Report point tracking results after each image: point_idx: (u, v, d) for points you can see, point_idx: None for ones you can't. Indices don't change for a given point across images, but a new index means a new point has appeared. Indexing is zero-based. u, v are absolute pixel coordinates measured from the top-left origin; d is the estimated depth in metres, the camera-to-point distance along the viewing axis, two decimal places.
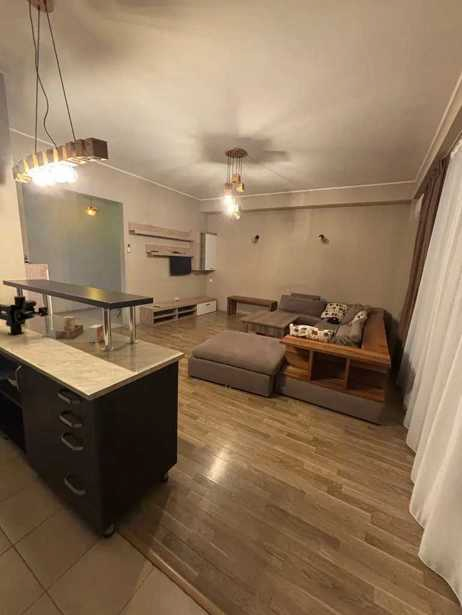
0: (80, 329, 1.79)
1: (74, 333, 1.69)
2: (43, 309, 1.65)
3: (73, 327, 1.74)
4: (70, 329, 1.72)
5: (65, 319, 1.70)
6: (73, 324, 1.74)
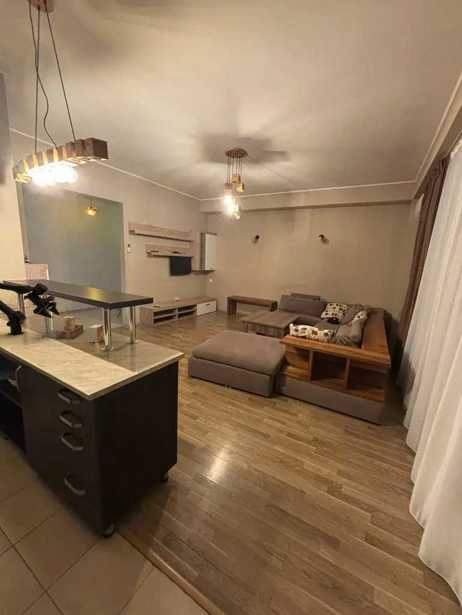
0: (80, 329, 1.79)
1: (74, 333, 1.69)
2: (55, 306, 1.75)
3: (73, 327, 1.74)
4: (70, 329, 1.72)
5: (65, 319, 1.70)
6: (73, 324, 1.74)
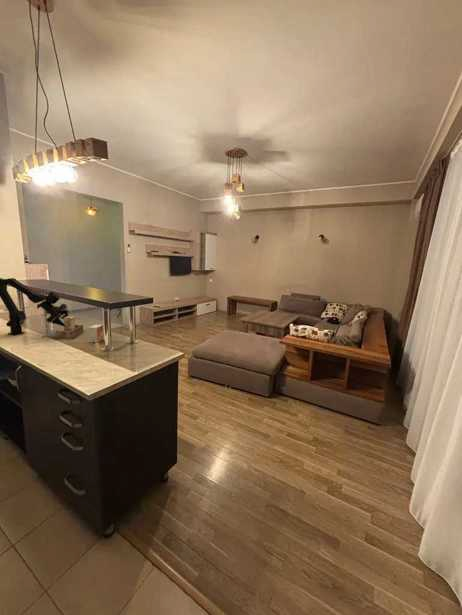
0: (80, 329, 1.79)
1: (74, 333, 1.69)
2: (67, 314, 1.77)
3: (73, 327, 1.74)
4: (70, 329, 1.72)
5: (65, 319, 1.70)
6: (73, 324, 1.74)
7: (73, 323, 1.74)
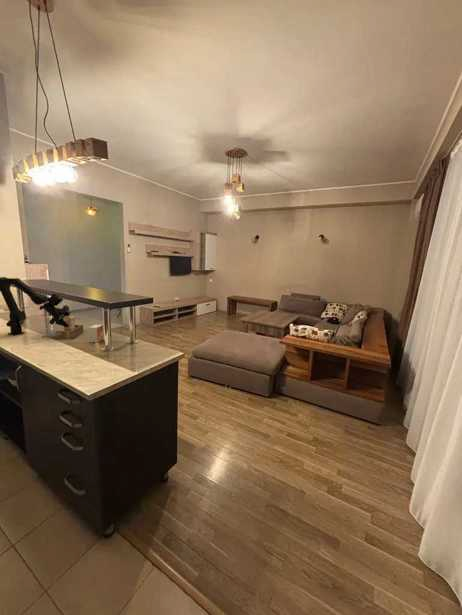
0: (80, 329, 1.79)
1: (74, 333, 1.69)
2: None
3: (73, 327, 1.74)
4: (70, 329, 1.72)
5: (65, 319, 1.70)
6: (73, 324, 1.74)
7: (73, 323, 1.74)
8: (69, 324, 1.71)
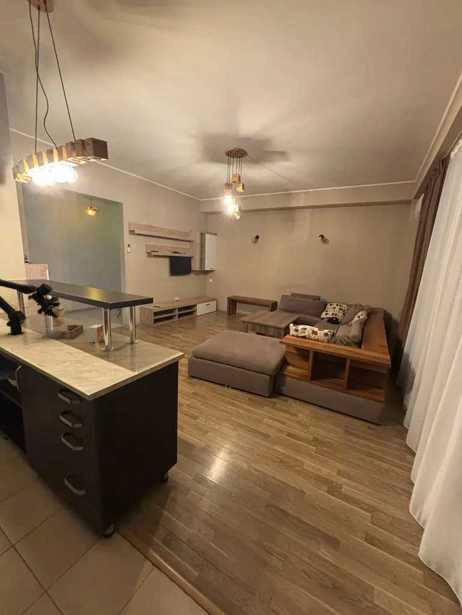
0: (80, 329, 1.79)
1: (74, 333, 1.69)
2: None
3: (62, 318, 1.72)
4: (59, 320, 1.69)
5: (54, 309, 1.67)
6: (62, 315, 1.71)
7: (62, 314, 1.71)
8: (58, 315, 1.69)
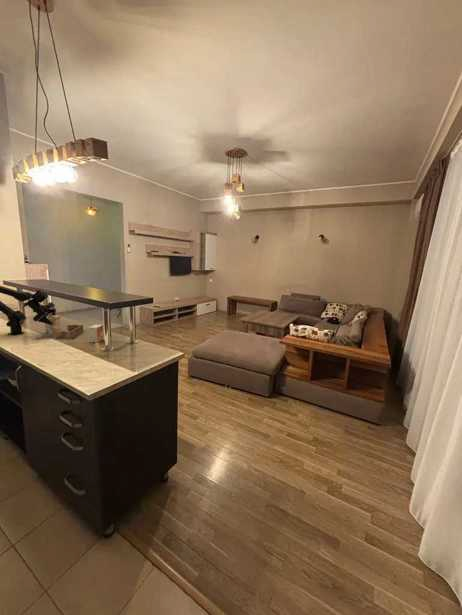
0: (80, 329, 1.79)
1: (74, 333, 1.69)
2: (54, 313, 1.75)
3: (58, 326, 1.72)
4: (55, 328, 1.70)
5: (50, 318, 1.68)
6: (58, 323, 1.72)
7: (58, 322, 1.72)
8: (54, 323, 1.69)
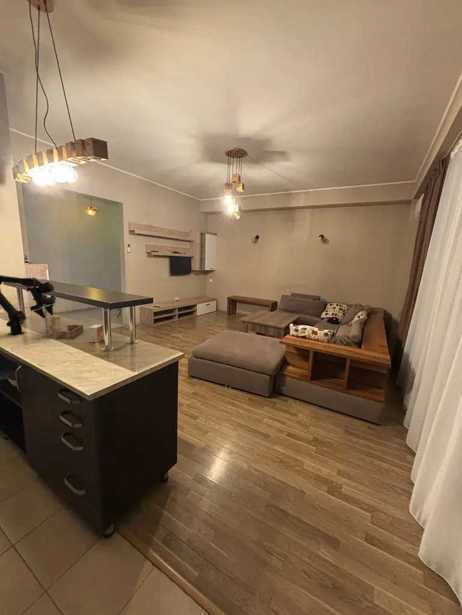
0: (80, 329, 1.79)
1: (74, 333, 1.69)
2: (52, 306, 1.75)
3: (58, 326, 1.72)
4: (55, 328, 1.70)
5: (50, 318, 1.68)
6: (58, 323, 1.72)
7: (58, 322, 1.72)
8: (54, 323, 1.69)
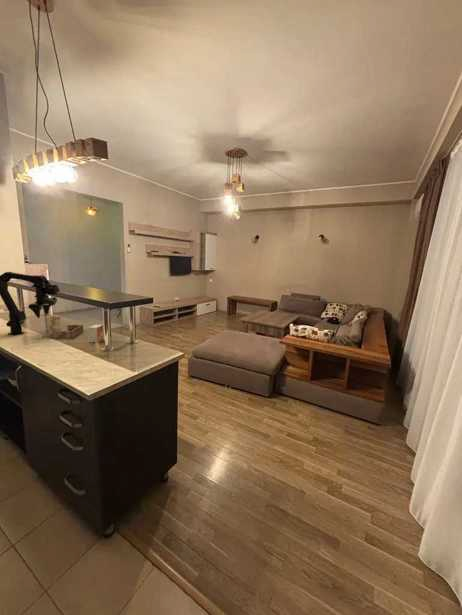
0: (80, 329, 1.79)
1: (74, 333, 1.69)
2: (50, 306, 1.74)
3: (58, 326, 1.72)
4: (55, 328, 1.70)
5: (50, 318, 1.68)
6: (58, 323, 1.72)
7: (58, 322, 1.72)
8: (54, 323, 1.69)
